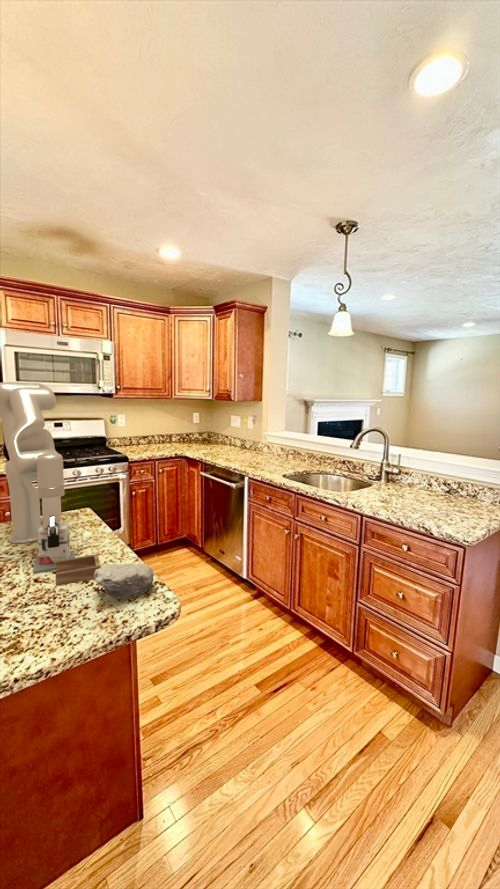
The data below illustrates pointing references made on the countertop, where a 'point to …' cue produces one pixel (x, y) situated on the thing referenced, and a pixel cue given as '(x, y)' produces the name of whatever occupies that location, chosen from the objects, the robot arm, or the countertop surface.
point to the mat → (47, 567)
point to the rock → (124, 579)
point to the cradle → (76, 569)
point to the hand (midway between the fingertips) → (54, 541)
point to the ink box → (54, 553)
